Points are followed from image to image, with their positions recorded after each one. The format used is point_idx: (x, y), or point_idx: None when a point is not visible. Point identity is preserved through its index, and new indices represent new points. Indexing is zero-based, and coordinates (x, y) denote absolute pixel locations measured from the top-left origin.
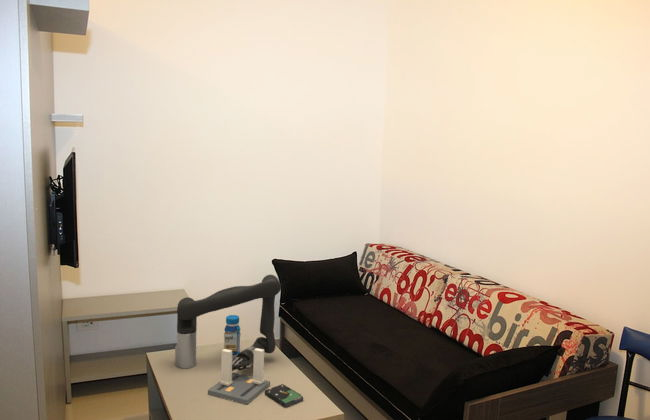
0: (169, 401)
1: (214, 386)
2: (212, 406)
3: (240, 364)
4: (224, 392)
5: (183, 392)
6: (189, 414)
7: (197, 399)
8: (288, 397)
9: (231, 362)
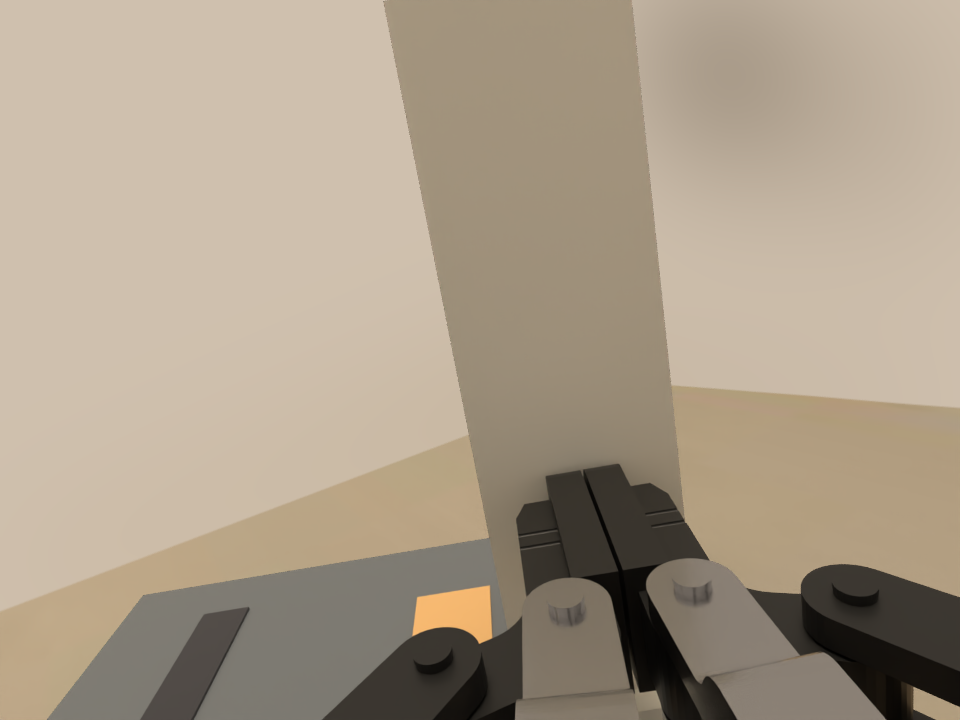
0: (791, 396)
1: None
2: (467, 492)
3: (403, 706)
4: (463, 564)
5: (891, 468)
6: None
7: None
8: None
9: (446, 316)
